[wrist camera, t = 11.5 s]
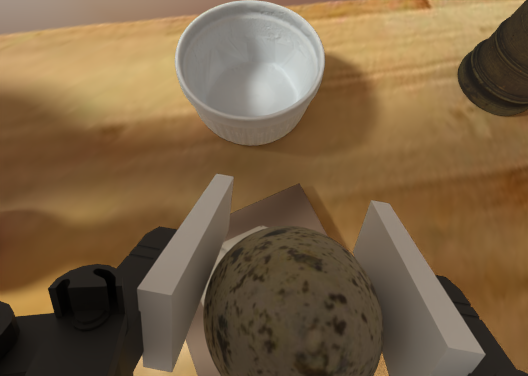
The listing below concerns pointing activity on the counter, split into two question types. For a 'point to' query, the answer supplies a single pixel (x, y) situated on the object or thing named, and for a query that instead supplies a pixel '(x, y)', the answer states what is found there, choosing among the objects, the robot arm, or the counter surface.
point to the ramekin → (250, 69)
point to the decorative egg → (292, 308)
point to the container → (499, 68)
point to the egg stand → (241, 225)
